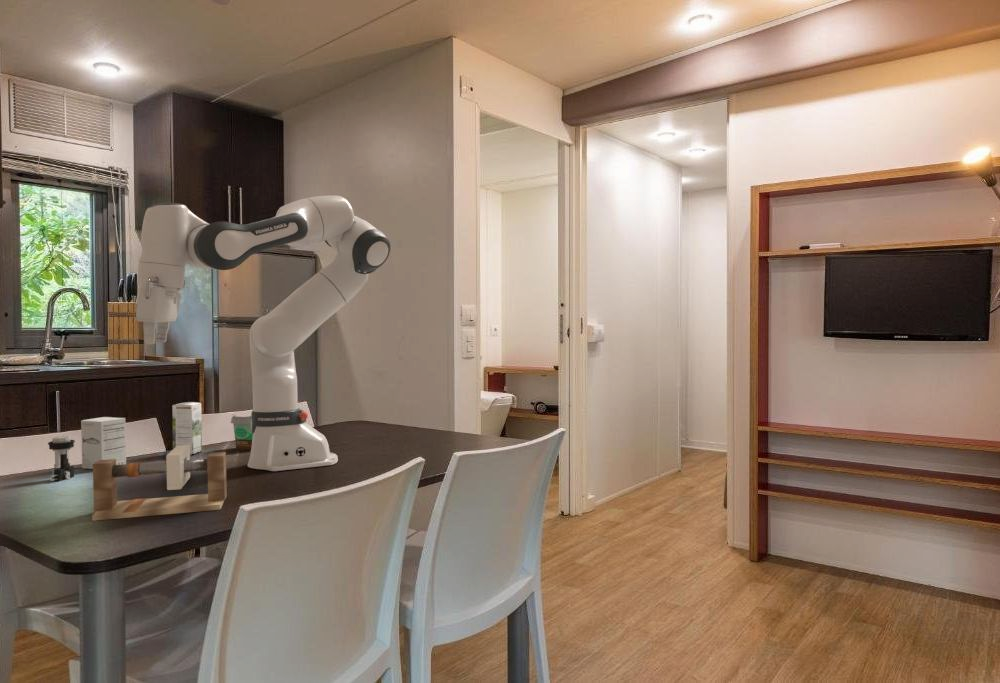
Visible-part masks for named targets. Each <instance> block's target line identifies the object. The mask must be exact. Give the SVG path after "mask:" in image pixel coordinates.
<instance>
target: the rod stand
mask: <svg viewBox="0 0 1000 683" xmlns="http://www.w3.org/2000/svg"><path fill="white" fill-rule="evenodd" d="M185 472H190V473H194V472H195V473H196V472H207V493H204V494H202V493H201V494H190V495H178V496H167V497H166V496H165V497H154V498H144V497H143V498H135V499H128V500H127V499H126V500H118V478H125V477H126V478H137V477H138V478H139V477H141V476H154V475H167V466H166V461H155V462H154V461H153V462H152V461H151V462H128V463H126V464H121V465H116V459H109V460H98V461H97V462H95V463H94V464H93V469H92V484H93V486H92V487H93V488H92V489H93V512H94V513H93V514H92V515H91V516H92V518H91V519H92V521H101V520H102V521H103V520H105V521H106V520H114V519H116V520H117V519H127V518H138V517H151V516H161V515H172V514H185V513H194V512H195V513H197V512H198V513H199V512H208V511H219V510H221V509H222V507H223V505H224V503H225V500H226V498H227V496H228V494H227V493H228V491H227V489H228V485H227V452H226V451H221V452H209V454H208V455H207V456H206V458H201V459H200V458H197V459H190V460H184V473H185Z"/></svg>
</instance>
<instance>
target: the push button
mask: <svg viewBox="0 0 1000 683" xmlns="http://www.w3.org/2000/svg"><path fill="white" fill-rule="evenodd" d="M74 443H75V439H71V436H69V435H67V436H65V435H64V436H56V437H52V440H51V441H48V443H47V445H48V449H49V450H52V451H53V452H54V466H53V467H54V469H52V470H51V475H49V477H50V478H51V479H49V481H50V482H51V481H53V482H61V481H65V480H67V479H71V478H74V477H75V468H74V465H71V463H70V453H69V451H70V450H71V449H72V448H74V446H75V444H74Z"/></svg>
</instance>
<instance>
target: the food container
mask: <svg viewBox="0 0 1000 683" xmlns="http://www.w3.org/2000/svg"><path fill="white" fill-rule="evenodd" d="M230 424H233V434H234V442H235V450H236V451H240V452H241V451H242V452H244V451H246V452H251V448H252V439H253V433H252V430H251V415H248V416H237V414H236V413H235V414H232V416H231V420H230Z"/></svg>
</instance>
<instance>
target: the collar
mask: <svg viewBox="0 0 1000 683" xmlns="http://www.w3.org/2000/svg"><path fill="white" fill-rule="evenodd" d="M190 458H191V455H190V445H185V446H176V447H175V448H174V449H173V448H172V450H170V452H168V453H167V454H166V456H165V459H166V461H165V462H166V466H167V474H166V489H167V491H172V490H173V491H174V490H175V491H176V490H182V489H183V488H184V486H185V485H186V484H187V482H188V480H190V478H191V472H185V473H184V460H191V459H190Z"/></svg>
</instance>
